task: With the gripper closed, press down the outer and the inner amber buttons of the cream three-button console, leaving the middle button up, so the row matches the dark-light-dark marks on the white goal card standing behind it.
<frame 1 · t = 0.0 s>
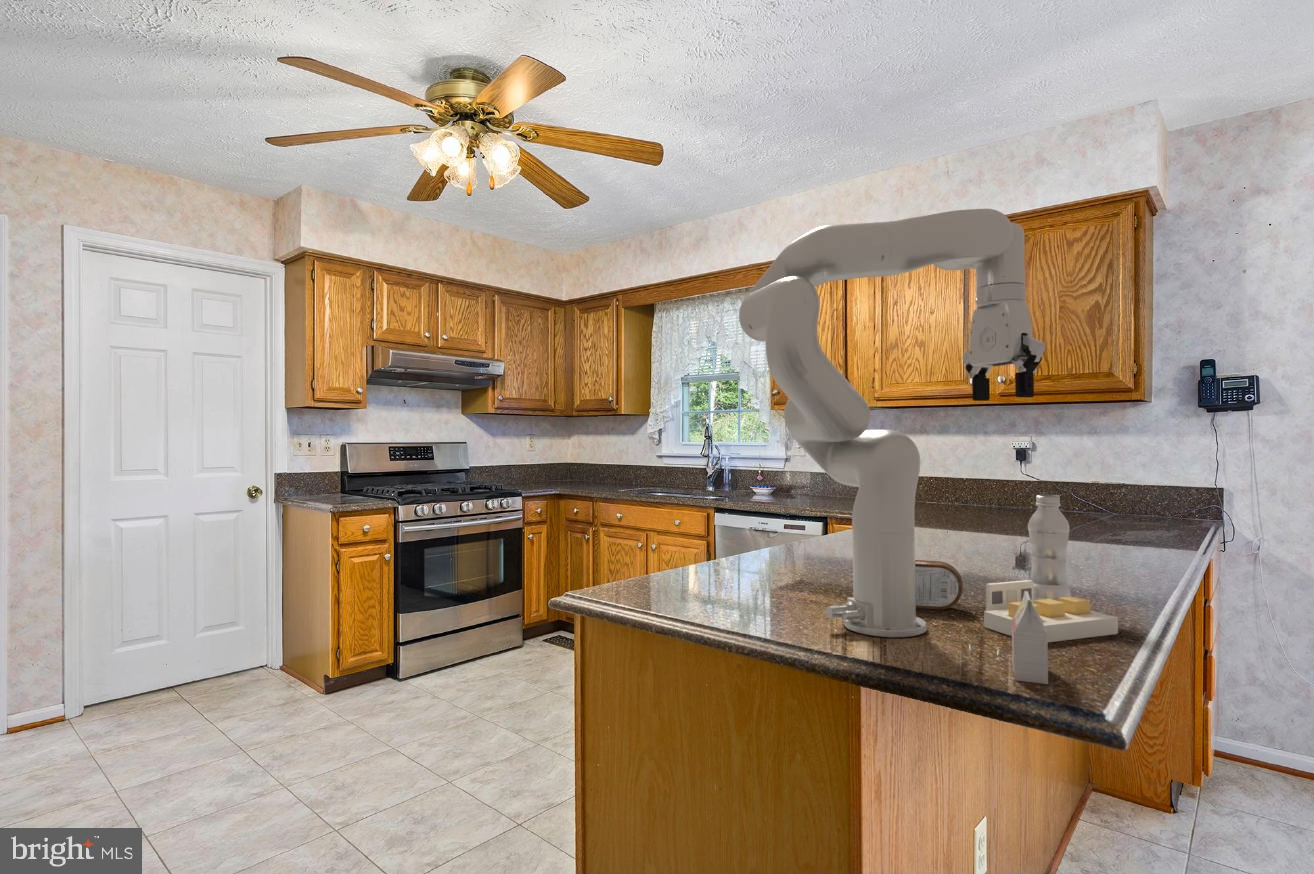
hand: (1002, 399, 121), 37 cm above the counter, tool pointing down, fingers open, 9 cm apart
button mid: (1049, 611, 111), point 3 cm above the counter, slide at 0.0 cm
plastic bottle: (1049, 611, 123), on the counter
console: (1049, 630, 111), on the counter
tin: (917, 608, 127), on the counter
goal card: (1010, 618, 118), on the counter
button far: (1074, 609, 112), point 3 cm above the counter, slide at 0.0 cm
button near: (1023, 614, 109), point 3 cm above the counter, slide at 0.0 cm
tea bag: (1029, 675, 91), on the counter
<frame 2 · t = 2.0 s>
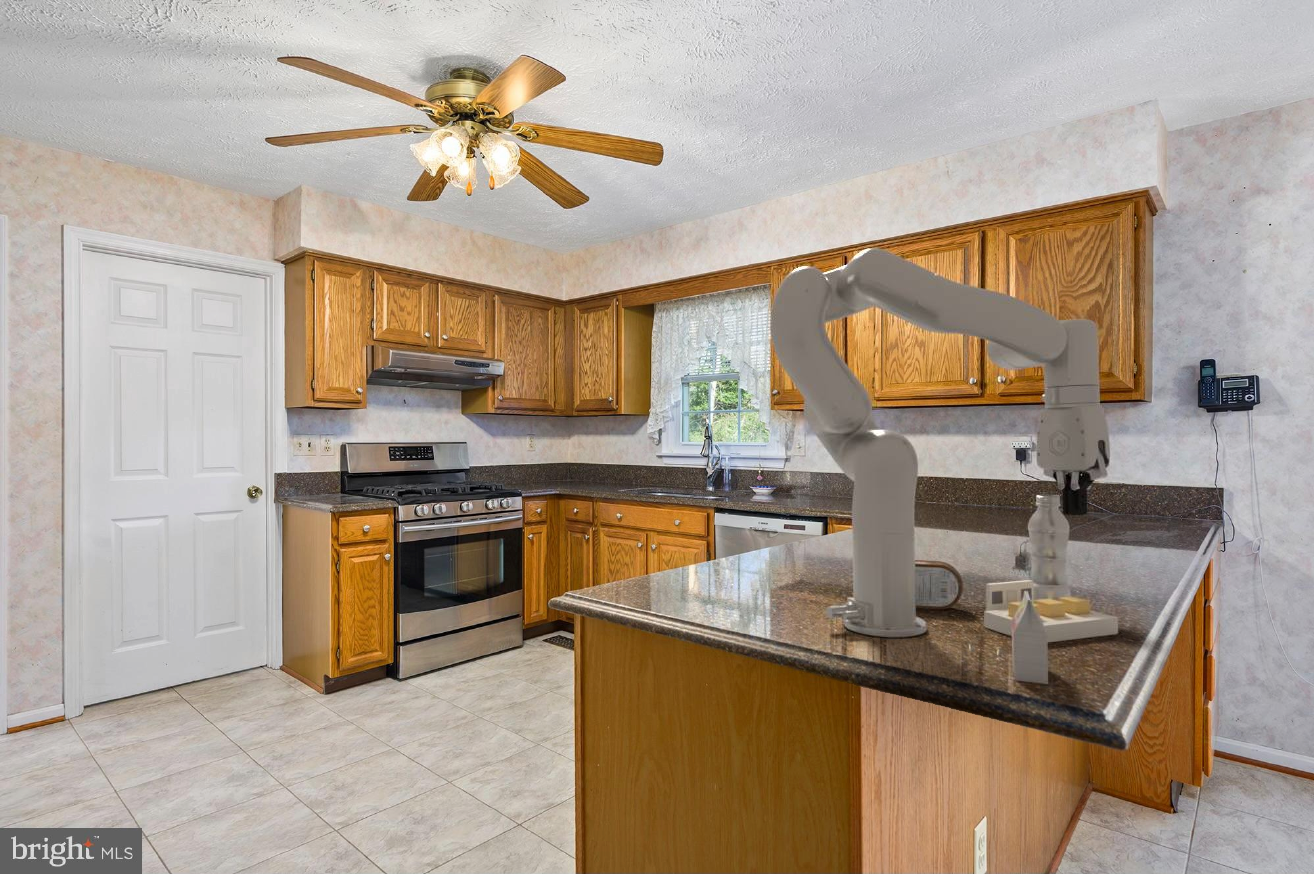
hand: (1075, 514, 112), 18 cm above the counter, tool pointing down, fingers closed
nothing on the counter moved.
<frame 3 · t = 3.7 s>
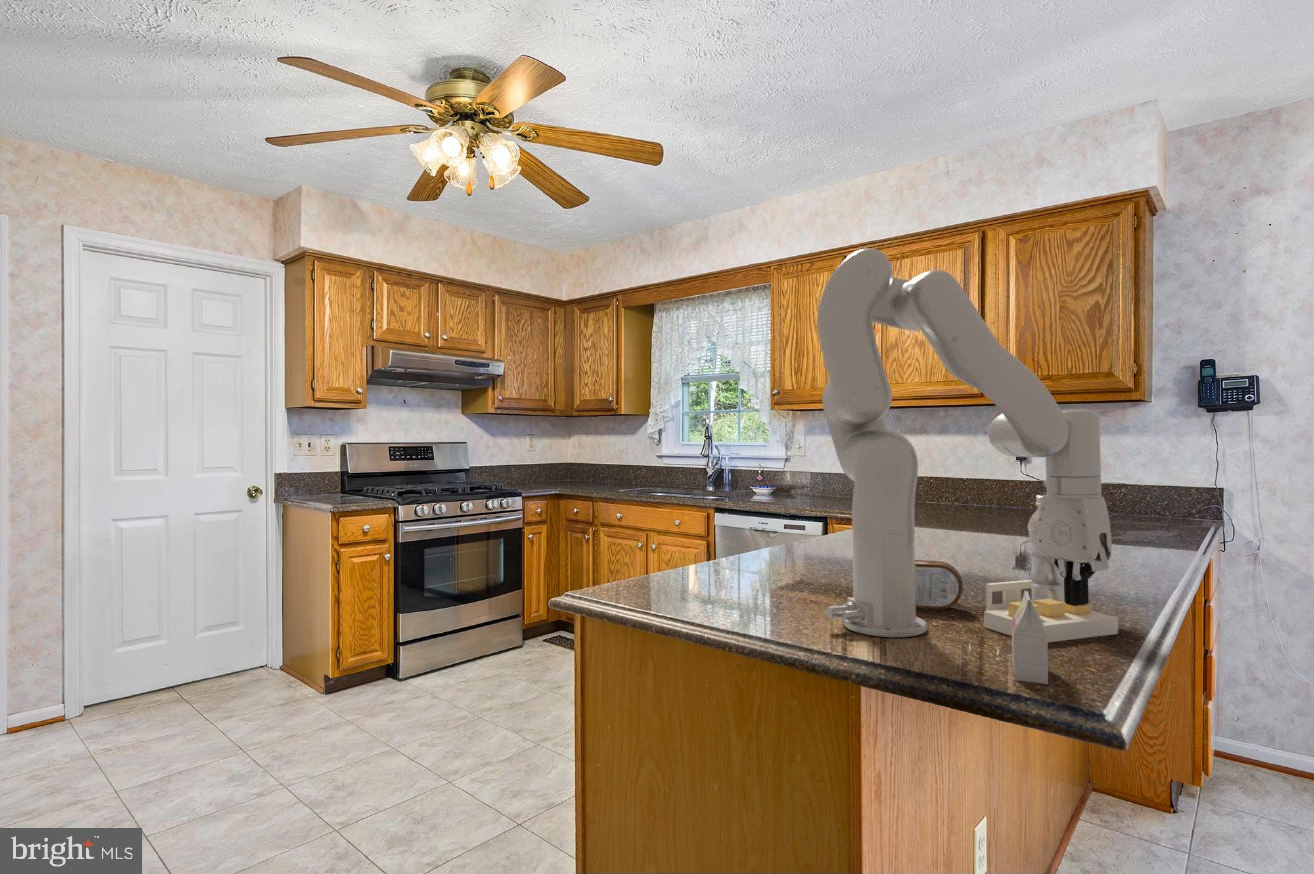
hand: (1076, 603, 112), 4 cm above the counter, tool pointing down, fingers closed
button far: (1074, 613, 112), point 2 cm above the counter, slide at 0.8 cm, touching gripper
everything else where it was.
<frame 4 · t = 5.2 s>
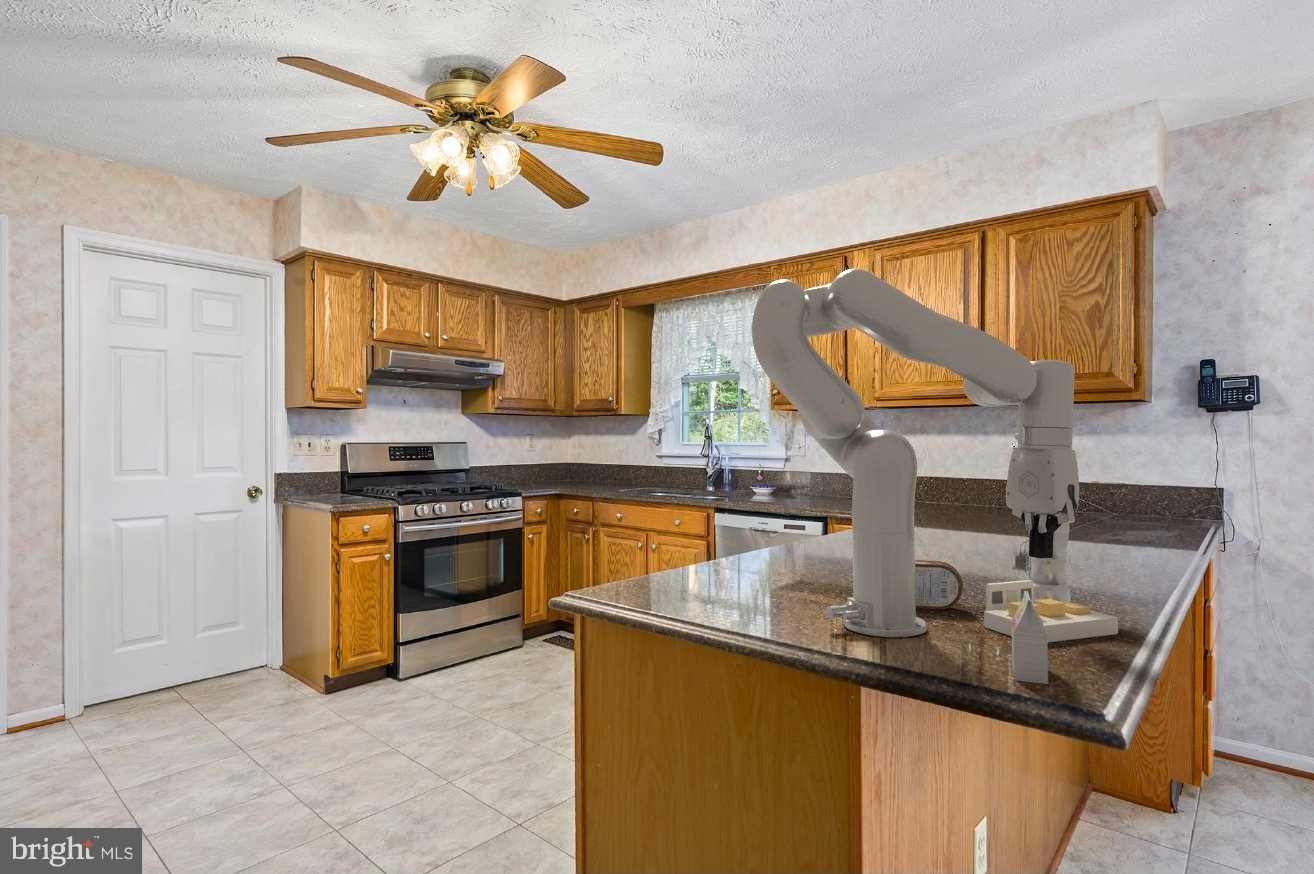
hand: (1040, 556, 111), 11 cm above the counter, tool pointing down, fingers closed
button far: (1074, 615, 112), point 2 cm above the counter, slide at 1.0 cm
everything else where it was.
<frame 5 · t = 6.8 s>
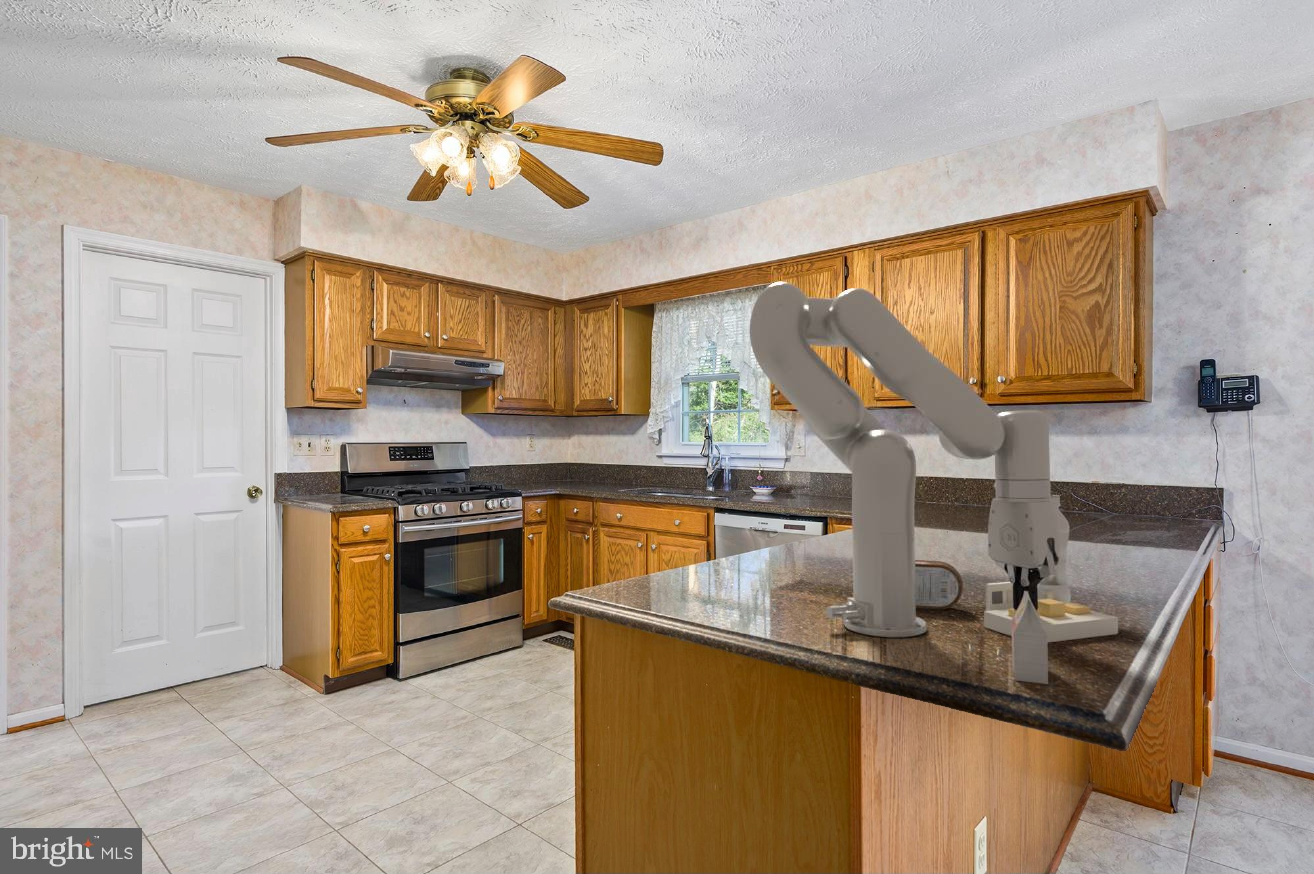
hand: (1025, 609, 109), 4 cm above the counter, tool pointing down, fingers closed
button near: (1023, 620, 109), point 2 cm above the counter, slide at 0.9 cm
everything else where it was.
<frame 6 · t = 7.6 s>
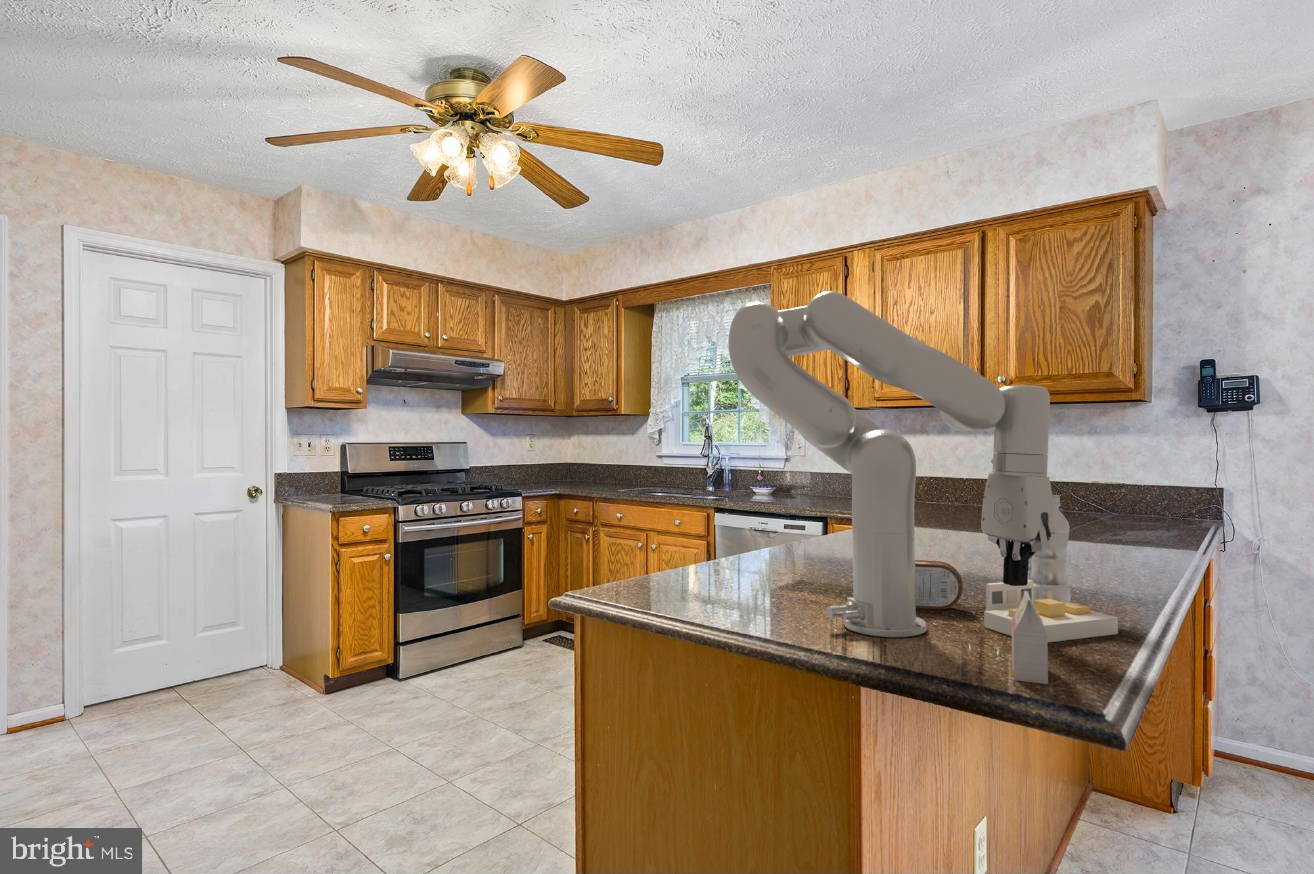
hand: (1015, 584, 109), 7 cm above the counter, tool pointing down, fingers closed
nothing on the counter moved.
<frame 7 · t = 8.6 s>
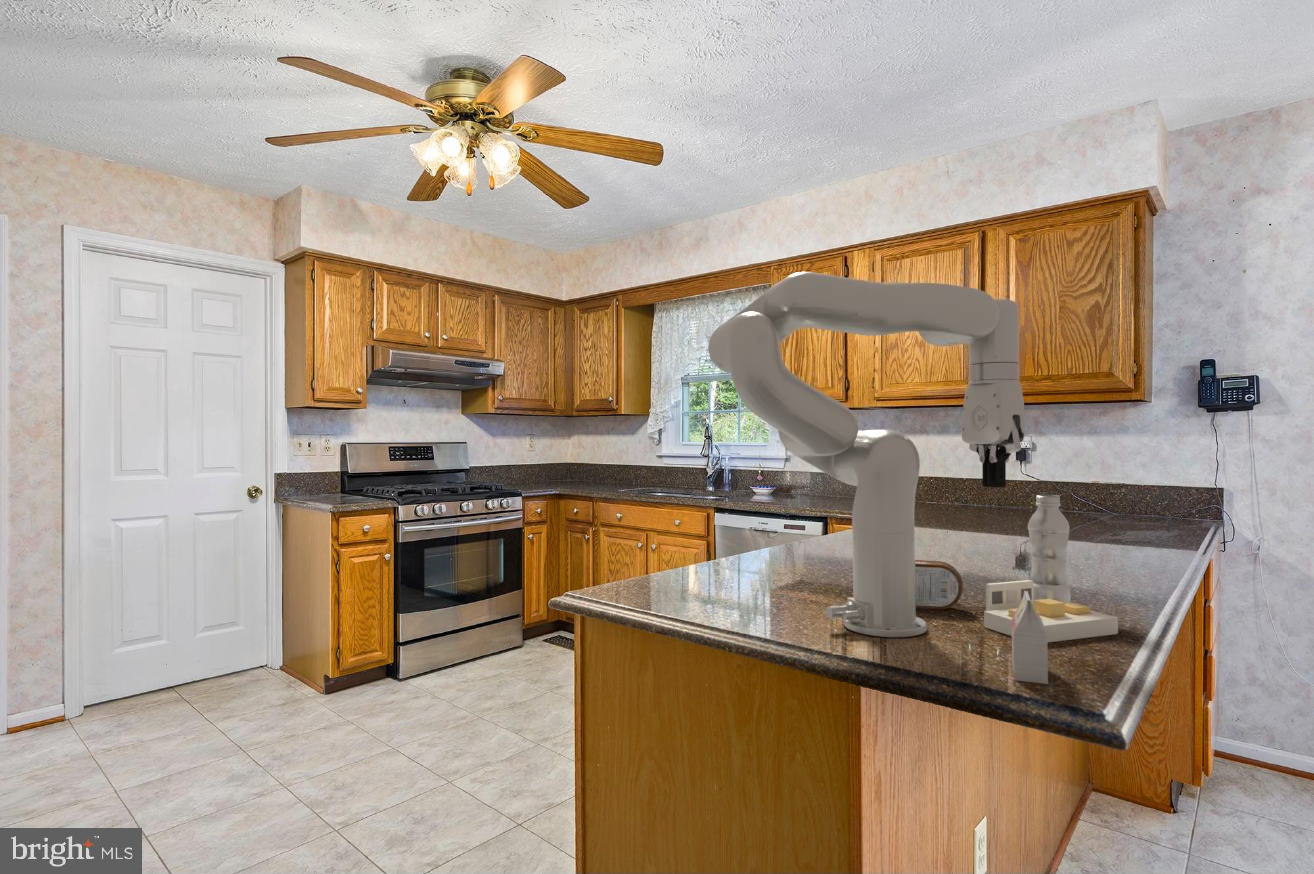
hand: (994, 486, 117), 22 cm above the counter, tool pointing down, fingers closed
nothing on the counter moved.
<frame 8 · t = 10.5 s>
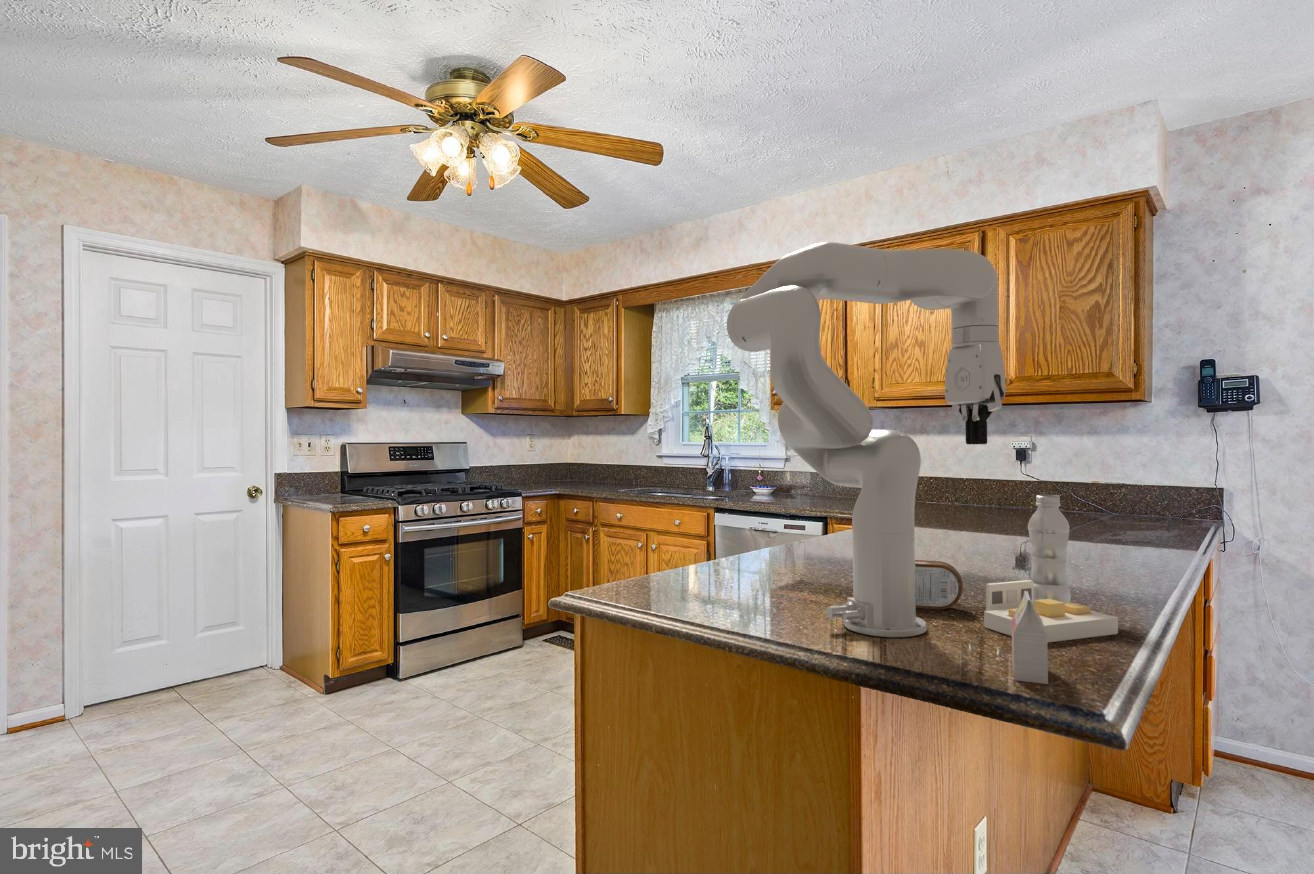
hand: (976, 444, 124), 29 cm above the counter, tool pointing down, fingers closed
nothing on the counter moved.
at the end: button far slide at 1.0 cm; button near slide at 1.0 cm; button mid slide at 0.0 cm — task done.
